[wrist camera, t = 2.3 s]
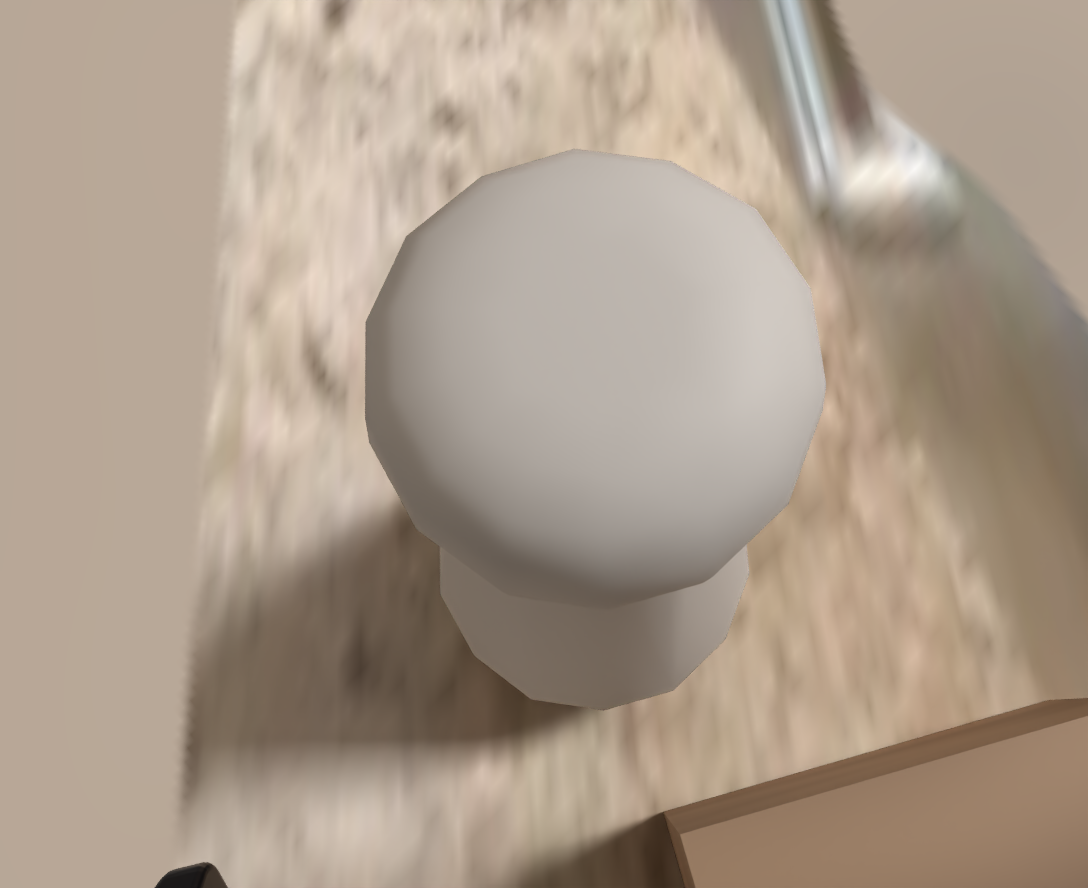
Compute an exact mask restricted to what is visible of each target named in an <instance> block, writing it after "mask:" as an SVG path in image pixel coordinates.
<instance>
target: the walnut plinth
mask: <svg viewBox="0 0 1088 888" xmlns="http://www.w3.org/2000/svg"><path fill="white" fill-rule="evenodd" d="M663 813H664V816H665V820H666V823H667V827H668V830H669V834H670V837H671V840H672V844H673V847H674V851H675V854H676V858H677V861H678V865H679V868H680V871H681V875H682V878H683V882H684V885H685V888H1088V698H1082V699H1061V700H1048V701H1044V702H1041V703H1037V704H1034V705H1031V706H1027V707H1024V708H1020V709H1017V710H1013V711H1010V712H1006V713H1003V714H1000V715H996V716H993V717H989V718H986V719H982V720H979V721H975V722H972V723H968V724H965V725H962V726H958V727H955V728H951V729H948V730H944V731H941V732H937V733H934V734H930V735H927V736H924V737H920V738H917V739H913V740H910V741H906V742H903V743H899V744H896V745H892V746H889V747H886V748H882V749H879V750H875V751H872V752H868V753H865V754H861V755H858V756H855V757H851V758H848V759H844V760H841V761H837V762H834V763H830V764H827V765H823V766H820V767H817V768H813V769H810V770H806V771H803V772H799V773H796V774H792V775H789V776H785V777H782V778H779V779H775V780H772V781H768V782H765V783H761V784H758V785H754V786H751V787H747V788H744V789H741V790H737V791H734V792H730V793H727V794H723V795H720V796H716V797H713V798H710V799H706V800H703V801H699V802H696V803H692V804H689V805H685V806H682V807H678V808H675V809H672V810H668V811H665V812H663Z"/></svg>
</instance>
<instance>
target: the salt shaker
mask: <svg viewBox="0 0 1088 888" xmlns="http://www.w3.org/2000/svg"><path fill="white" fill-rule="evenodd" d="M825 390H826V381H825V375H824V368H823V362H822V356H821V350H820V344H819V337H818V331H817V325H816V319H815V313H814V306H813V300H812V294H811V288H810V287H809V285H808V284H807V282H806V281H805V280H804V278H803V277H802V275H801V274H800V272H799V271H798V269H797V268H796V266H795V265H794V264H793V262H792V261H791V259H790V258H789V256H788V255H787V253H786V252H785V250H784V249H783V248H782V246H781V245H780V243H779V242H778V240H777V239H776V237H775V236H774V234H773V233H772V232H771V230H770V229H769V227H768V226H767V224H766V223H765V221H764V220H763V218H762V217H761V216H760V214H759V213H758V211H757V210H756V209H755V208H754V207H752V206H750V205H748V204H746V203H745V202H743V201H741V200H739V199H738V198H736V197H734V196H732V195H730V194H729V193H727V192H725V191H723V190H721V189H720V188H718V187H716V186H714V185H713V184H711V183H709V182H707V181H705V180H704V179H702V178H700V177H698V176H696V175H695V174H693V173H691V172H689V171H688V170H686V169H684V168H682V167H680V166H679V165H677V164H675V163H673V162H672V161H666V160H658V159H650V158H642V157H634V156H626V155H619V154H611V153H603V152H595V151H587V150H579V149H572V150H569V151H565V152H562V153H559V154H555V155H552V156H549V157H545V158H542V159H539V160H535V161H532V162H528V163H525V164H522V165H518V166H515V167H512V168H508V169H505V170H502V171H498V172H495V173H491V174H488V175H485V176H481V177H480V178H479V179H478V180H476V181H475V182H474V183H473V184H471V185H470V186H469V187H468V188H466V189H465V190H464V191H463V192H461V193H460V194H459V195H458V196H456V197H455V198H454V199H453V200H451V201H450V202H449V203H447V204H446V205H445V206H444V207H442V208H441V209H440V210H439V211H437V212H436V213H435V214H434V215H432V216H431V217H430V218H429V219H427V220H426V221H425V222H424V223H422V224H421V225H420V226H419V227H417V228H416V229H415V230H414V231H412V232H411V233H410V234H409V235H407V236H406V238H405V240H404V242H403V244H402V247H401V249H400V251H399V253H398V255H397V257H396V259H395V261H394V263H393V266H392V268H391V270H390V272H389V274H388V276H387V278H386V280H385V282H384V284H383V287H382V289H381V291H380V293H379V295H378V297H377V299H376V301H375V303H374V306H373V308H372V310H371V312H370V314H369V316H368V318H367V320H366V360H365V420H366V426H367V431H368V437H369V443H370V445H371V446H372V448H373V450H374V452H375V454H376V456H377V457H378V459H379V461H380V463H381V465H382V467H383V469H384V470H385V472H386V474H387V476H388V478H389V480H390V481H391V483H392V485H393V487H394V489H395V491H396V492H397V494H398V496H399V498H400V500H401V502H402V504H403V505H404V507H405V509H406V511H407V513H408V515H409V516H410V518H411V520H412V522H413V524H414V526H415V527H416V529H417V530H418V531H419V532H420V533H422V534H423V535H425V536H426V537H427V538H429V539H430V540H431V541H433V542H434V543H436V544H437V545H438V546H440V595H441V597H442V599H443V600H444V602H445V604H446V606H447V608H448V609H449V611H450V613H451V615H452V617H453V618H454V620H455V622H456V624H457V626H458V627H459V629H460V631H461V633H462V635H463V636H464V638H465V640H466V642H467V644H468V645H469V647H470V649H471V651H472V653H473V654H474V656H475V657H477V658H478V659H479V660H480V661H482V662H483V663H484V664H486V665H487V666H488V667H490V668H491V669H492V670H493V671H495V672H496V673H497V674H499V675H500V676H501V677H503V678H504V679H505V680H506V681H508V682H509V683H510V684H512V685H513V686H514V687H516V688H517V689H518V690H520V691H521V692H522V693H523V694H525V695H526V696H527V697H529V698H530V699H531V700H538V701H545V702H551V703H558V704H565V705H571V706H578V707H585V708H592V709H598V710H607V709H610V708H614V707H617V706H621V705H624V704H628V703H631V702H635V701H638V700H642V699H645V698H649V697H652V696H656V695H659V694H663V693H667V692H670V691H673V690H674V689H675V688H676V687H677V686H678V685H679V684H680V683H681V682H682V681H684V680H685V679H686V678H687V677H688V676H689V675H690V674H691V673H692V672H693V671H694V670H695V669H696V668H697V667H698V666H699V665H700V664H701V663H702V662H703V661H704V660H705V659H706V658H707V657H708V656H709V655H710V654H711V653H712V652H713V651H714V650H715V649H716V648H717V647H718V646H719V645H720V644H721V643H722V642H723V641H724V640H725V639H726V636H727V633H728V631H729V628H730V625H731V622H732V620H733V617H734V614H735V611H736V609H737V606H738V603H739V600H740V598H741V595H742V592H743V590H744V587H745V584H746V581H747V579H748V576H749V565H748V555H747V543H748V542H750V541H751V540H752V539H753V538H754V537H755V536H756V535H757V534H758V533H759V532H760V531H761V530H762V529H763V528H764V527H765V526H766V525H767V524H768V523H769V522H770V521H771V520H772V519H773V518H774V517H775V516H777V515H778V514H779V513H780V512H781V511H782V510H783V509H784V508H785V507H786V506H787V505H788V503H789V500H790V498H791V495H792V492H793V490H794V487H795V484H796V481H797V479H798V476H799V473H800V470H801V468H802V465H803V462H804V460H805V457H806V454H807V451H808V449H809V446H810V443H811V440H812V438H813V435H814V432H815V430H816V427H817V424H818V421H819V419H820V416H821V413H822V410H823V404H824V397H825Z"/></svg>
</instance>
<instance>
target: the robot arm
mask: <svg viewBox="0 0 1088 888" xmlns="http://www.w3.org/2000/svg"><path fill="white" fill-rule="evenodd" d="M155 888H228V887H227V885H226V883H225V882H224V880H223V878H222V876H221V875H220V873H219V871H218V870H217V868H216V867H215V866H214V865H212V864H211V863H209V862H207V863H205V862H203V863H199V864H195V865H191V866H187V867H182V868H178V869H175V870H172V871H170V872H168V873H167V874H166V875H165V876H164V877H162V879H161V880H160V881H159V882H158V884H157V885H156V887H155Z"/></svg>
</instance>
